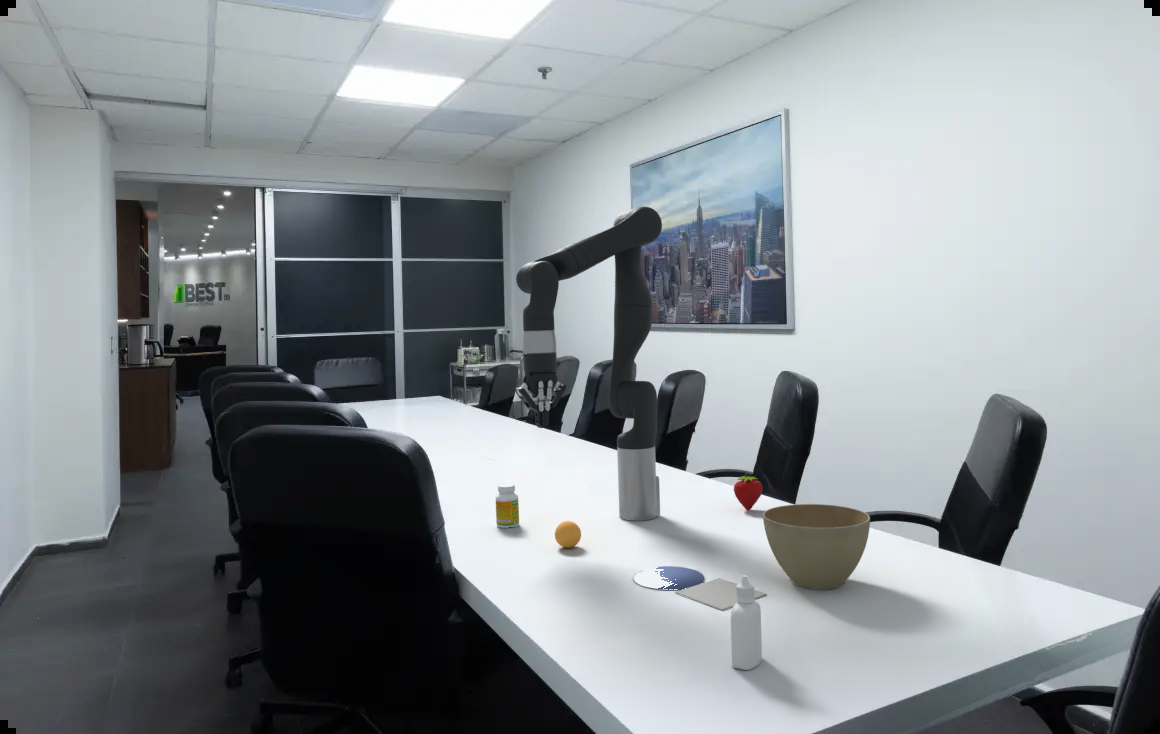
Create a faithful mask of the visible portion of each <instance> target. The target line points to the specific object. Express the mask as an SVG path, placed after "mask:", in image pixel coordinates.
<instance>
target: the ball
mask: <svg viewBox="0 0 1160 734" xmlns="http://www.w3.org/2000/svg"><path fill="white" fill-rule="evenodd" d="M581 538H582V532H581V528H580V526H579V525H578V524H577V523H575V522H574V521H572V520H564V521H561V522H560V523H559V524H558V525H557V527H556V528H555V531H554V539H555V542H556V543H557V544H558V545H559V546H561V547H562V548H565V549H570V548H573V547H575V546H576V545H578V544H579V543H580V541H581Z"/></svg>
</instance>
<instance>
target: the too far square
mask: <svg viewBox="0 0 1160 734" xmlns="http://www.w3.org/2000/svg"><path fill="white" fill-rule="evenodd" d="M737 584H738V583H735V582H733V581H729V580H726V579H723V578H721V577H719V578H716V579H712V580H709V581H706V582H703V583H702V584H699V585H696V586H692V587H689V588H686V589H683V590H675V592H676V593H678V594H677V595H679V594H681V595H683V596H682V597H684V596H686V597H685V598H687V597H688V598H687V599H689V598H691V599H690V600H692V599H694V600H693V601H695V600H697V601H699V602H698V603H700V602H702V603H701V604H703V603H704V604H703V605H706V606H709V607H711V608H714V609H716V610H719V611H725V610H727V609H732V607H733V606H734V604H735V603H736V602H737V600H736V585H737ZM676 593H675V594H676ZM754 593H755V600H756V599H760V598H762V597H766V596H767V595H768V593H766V592H763V591H759V590H757V589H754ZM681 595H680V596H681ZM697 601H696V602H697Z"/></svg>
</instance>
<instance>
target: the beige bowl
mask: <svg viewBox="0 0 1160 734" xmlns="http://www.w3.org/2000/svg"><path fill="white" fill-rule="evenodd" d="M762 519H763V525H764V526H763V527H764V532H765V535H766V539H767V542H768V544H769V547H770V550H771V552H772V554H773V556H774V557H775V560H776V561H777V563H778V565H779V566H780V568H781V569H782V570H783V572H784V573H785V574H786V576H788V578H789V579H790V580H791V582H792V583H794V584H795V585H797V586H798V587H802V588H805V589H810V590H832V589H833V590H834V589H836V588H839V587H841V586H842V585H843V584H844V583H846V581H847V580H848V579H849V577H851V575H852V574H853V573H854V571H855V570H856V569H857V566H858V565H859V563H860V561H861V559H862V557H863V554H864V552H865V549H866V547H867V542H868V539H869V533H870V528H871V527H870V526H871V516H870V515H869V514H868V512H865V511H862V510H860V509H857V508H854V507H853V508H852V507H850V506H849V507H848V506H843V505H842V506H841V505H835V504H821V503H803V504H802V503H801V504H797V503H796V504H787V505H786V504H785V505H779V506H775V507H772V508H768V509H767V510H765V511H763V514H762Z"/></svg>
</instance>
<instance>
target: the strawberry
mask: <svg viewBox="0 0 1160 734" xmlns="http://www.w3.org/2000/svg"><path fill="white" fill-rule="evenodd" d="M747 474H748V472H746V473H745V474H744V476H740V478H737V479H736V480H737V481H736V483H734V485H733V493H734V496H735V498H736V499H737V500H738V502H739V503H740V504H741V506H742V507H743V508H744V510H746V511H750V510H751V509H752V508H753V507H754V505H755V504H756V503H757V502H758V501H759V498H761V496H762V493H763V489H764V488H763V484H762V483H761V481H759V478H757V477H756V476H746V475H747Z"/></svg>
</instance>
